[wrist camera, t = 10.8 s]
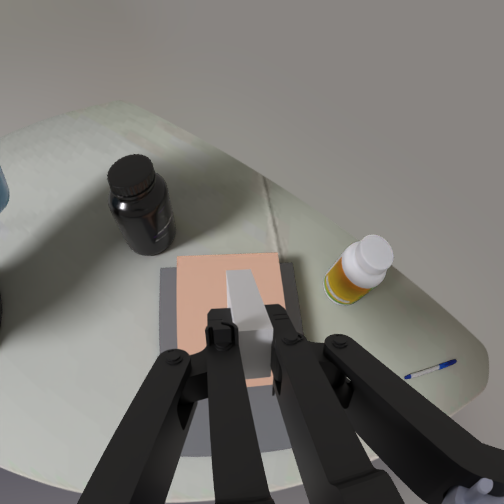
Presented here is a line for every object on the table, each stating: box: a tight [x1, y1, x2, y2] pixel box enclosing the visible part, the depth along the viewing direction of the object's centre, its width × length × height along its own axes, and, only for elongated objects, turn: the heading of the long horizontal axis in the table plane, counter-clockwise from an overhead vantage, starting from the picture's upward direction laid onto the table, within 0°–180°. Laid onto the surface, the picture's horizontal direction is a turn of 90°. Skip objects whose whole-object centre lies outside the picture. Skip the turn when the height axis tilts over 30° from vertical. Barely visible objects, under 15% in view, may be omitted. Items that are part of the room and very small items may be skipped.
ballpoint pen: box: [405, 359, 457, 379], centre depth 29 cm, size 10×1×1 cm, turn 95°
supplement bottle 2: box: [323, 234, 394, 306], centre depth 30 cm, size 5×5×10 cm
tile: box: [177, 253, 286, 387], centre depth 28 cm, size 3×11×14 cm
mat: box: [159, 263, 303, 457], centre depth 28 cm, size 22×16×1 cm
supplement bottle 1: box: [107, 154, 176, 256], centre depth 29 cm, size 7×7×12 cm
